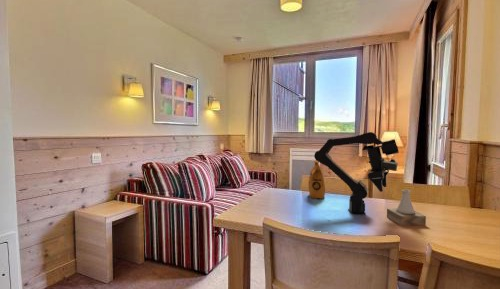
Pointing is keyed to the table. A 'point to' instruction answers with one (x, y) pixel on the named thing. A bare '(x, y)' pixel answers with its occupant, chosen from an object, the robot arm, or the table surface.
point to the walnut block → (406, 218)
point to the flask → (405, 203)
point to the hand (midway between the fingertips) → (383, 189)
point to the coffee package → (316, 182)
